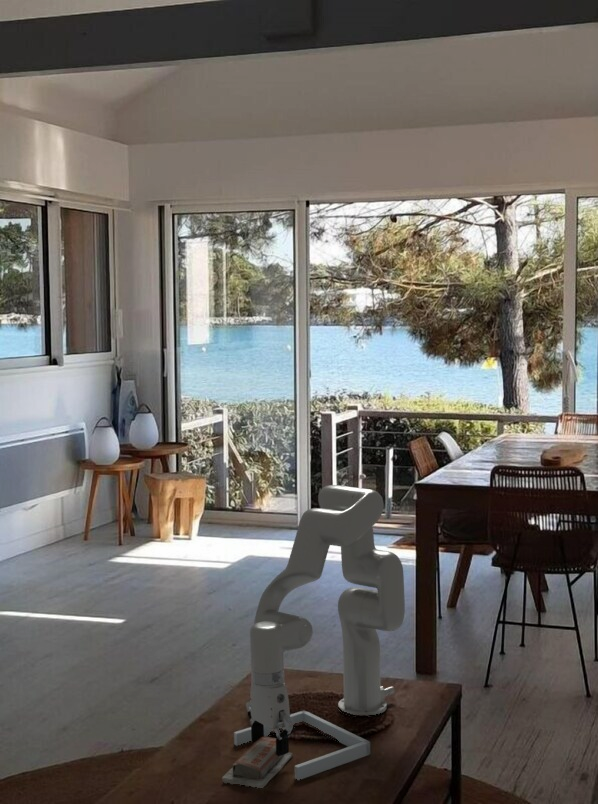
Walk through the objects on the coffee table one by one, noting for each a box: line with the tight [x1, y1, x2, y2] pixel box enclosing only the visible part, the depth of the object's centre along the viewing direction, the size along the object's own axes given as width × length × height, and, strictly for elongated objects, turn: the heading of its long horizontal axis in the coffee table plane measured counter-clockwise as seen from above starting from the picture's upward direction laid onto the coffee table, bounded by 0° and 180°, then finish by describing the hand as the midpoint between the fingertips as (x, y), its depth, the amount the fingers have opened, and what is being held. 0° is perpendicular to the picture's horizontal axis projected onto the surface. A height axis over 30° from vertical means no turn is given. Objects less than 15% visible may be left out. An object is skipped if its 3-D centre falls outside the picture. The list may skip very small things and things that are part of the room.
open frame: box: [233, 710, 371, 781], centre depth 266 cm, size 21×25×3 cm
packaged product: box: [221, 736, 294, 789], centre depth 256 cm, size 18×5×10 cm
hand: (270, 747), depth 261 cm, fingers open, 9 cm apart
